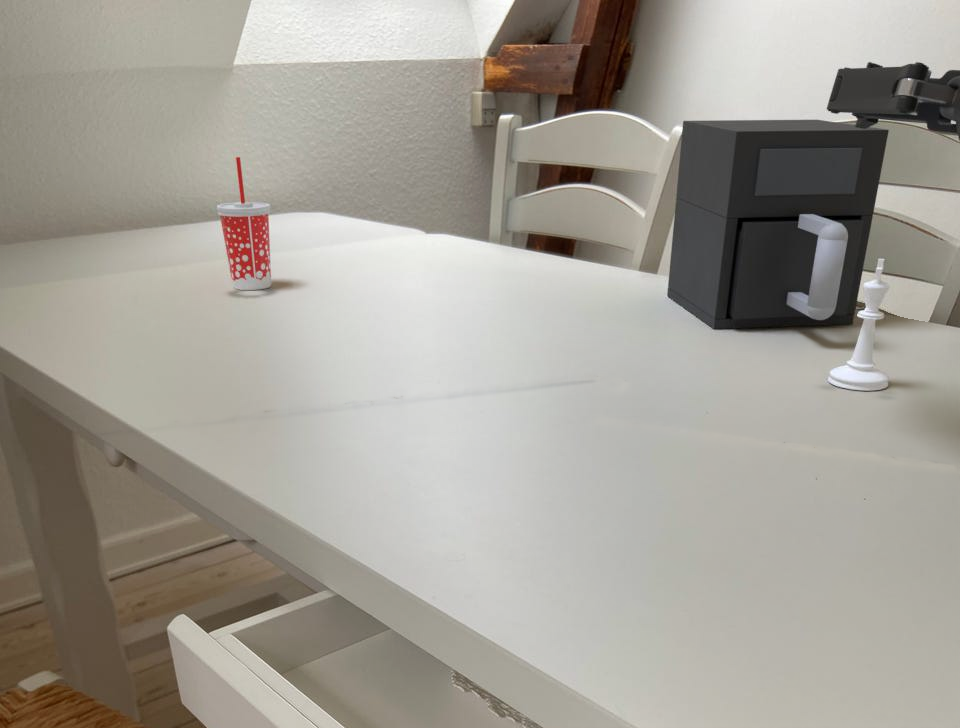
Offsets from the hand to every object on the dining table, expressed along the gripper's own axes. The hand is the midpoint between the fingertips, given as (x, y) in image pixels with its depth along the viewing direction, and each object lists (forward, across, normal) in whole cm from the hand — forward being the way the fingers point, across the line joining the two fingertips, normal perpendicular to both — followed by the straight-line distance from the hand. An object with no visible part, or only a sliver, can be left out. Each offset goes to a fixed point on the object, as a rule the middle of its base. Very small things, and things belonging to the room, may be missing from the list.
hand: (959, 126), depth 73 cm
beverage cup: (+31, -67, -28) cm, 78 cm away
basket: (+26, -7, -17) cm, 32 cm away
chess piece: (+4, 0, -20) cm, 20 cm away
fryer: (+31, -9, -18) cm, 36 cm away
